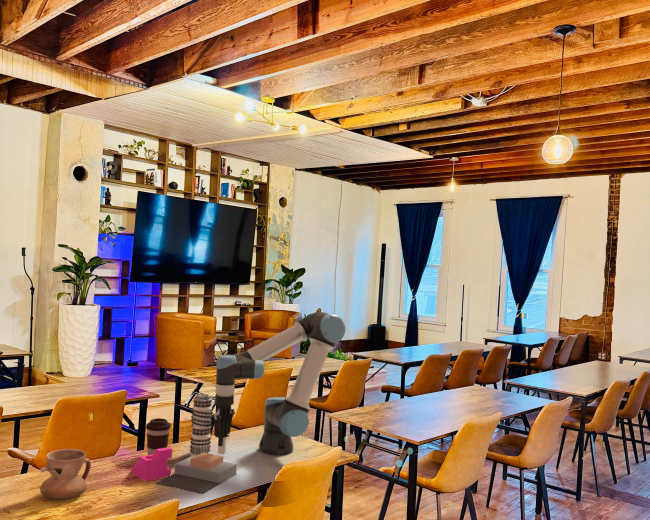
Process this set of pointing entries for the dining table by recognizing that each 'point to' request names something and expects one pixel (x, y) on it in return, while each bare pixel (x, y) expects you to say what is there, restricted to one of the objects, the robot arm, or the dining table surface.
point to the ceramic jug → (65, 474)
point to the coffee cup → (157, 434)
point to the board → (206, 471)
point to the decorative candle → (201, 424)
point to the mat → (188, 483)
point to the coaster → (206, 460)
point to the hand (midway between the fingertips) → (221, 453)
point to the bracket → (153, 465)
